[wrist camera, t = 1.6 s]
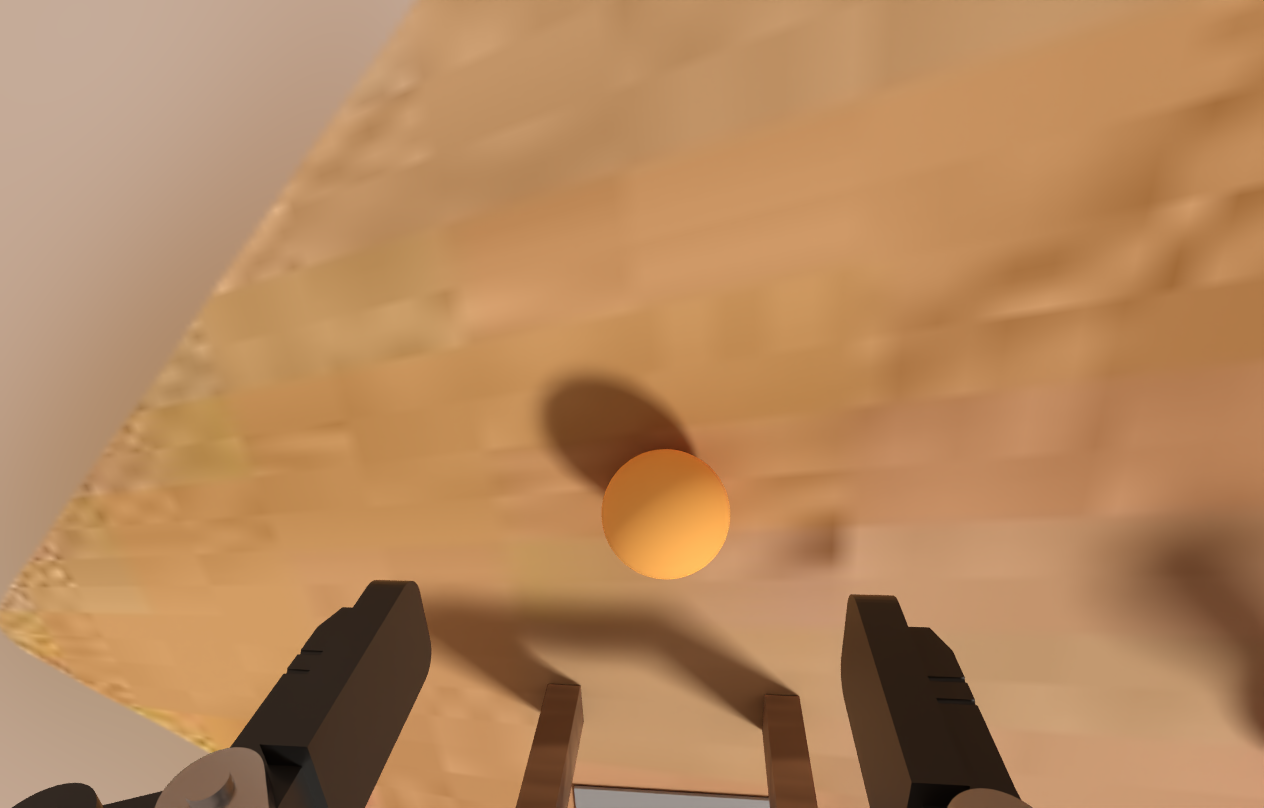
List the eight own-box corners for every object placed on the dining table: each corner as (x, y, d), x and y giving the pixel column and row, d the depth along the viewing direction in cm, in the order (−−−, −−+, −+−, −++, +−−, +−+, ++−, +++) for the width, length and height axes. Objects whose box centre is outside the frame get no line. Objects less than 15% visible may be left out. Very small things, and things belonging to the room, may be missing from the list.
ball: (606, 426, 33) (588, 490, 28) (729, 428, 33) (735, 493, 27) (612, 528, 36) (596, 605, 30) (726, 530, 35) (731, 609, 30)
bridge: (548, 684, 41) (506, 844, 32) (799, 696, 39) (827, 868, 31) (552, 719, 42) (512, 883, 33) (795, 732, 41) (822, 907, 32)
